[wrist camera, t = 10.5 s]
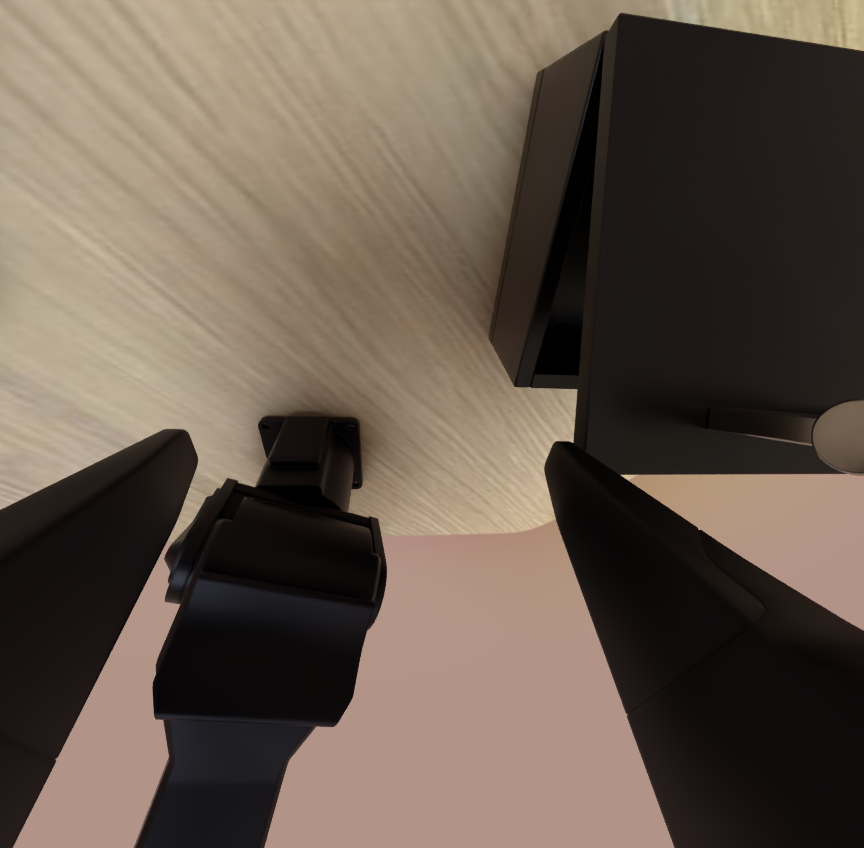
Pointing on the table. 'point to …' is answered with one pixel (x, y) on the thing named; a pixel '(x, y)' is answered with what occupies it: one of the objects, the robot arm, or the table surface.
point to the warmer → (551, 227)
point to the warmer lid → (725, 256)
